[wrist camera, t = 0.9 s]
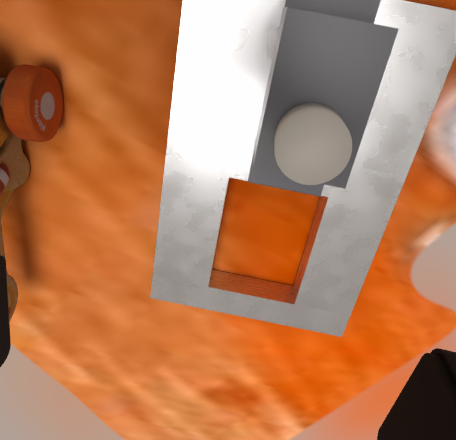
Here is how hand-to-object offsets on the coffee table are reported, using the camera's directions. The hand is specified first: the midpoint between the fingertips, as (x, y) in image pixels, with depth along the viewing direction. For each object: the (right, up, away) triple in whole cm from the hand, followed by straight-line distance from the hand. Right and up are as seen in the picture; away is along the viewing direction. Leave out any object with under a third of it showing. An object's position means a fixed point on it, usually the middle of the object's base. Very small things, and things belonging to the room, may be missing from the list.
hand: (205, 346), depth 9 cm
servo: (+5, +11, +16) cm, 20 cm away
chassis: (+4, +6, +21) cm, 23 cm away
